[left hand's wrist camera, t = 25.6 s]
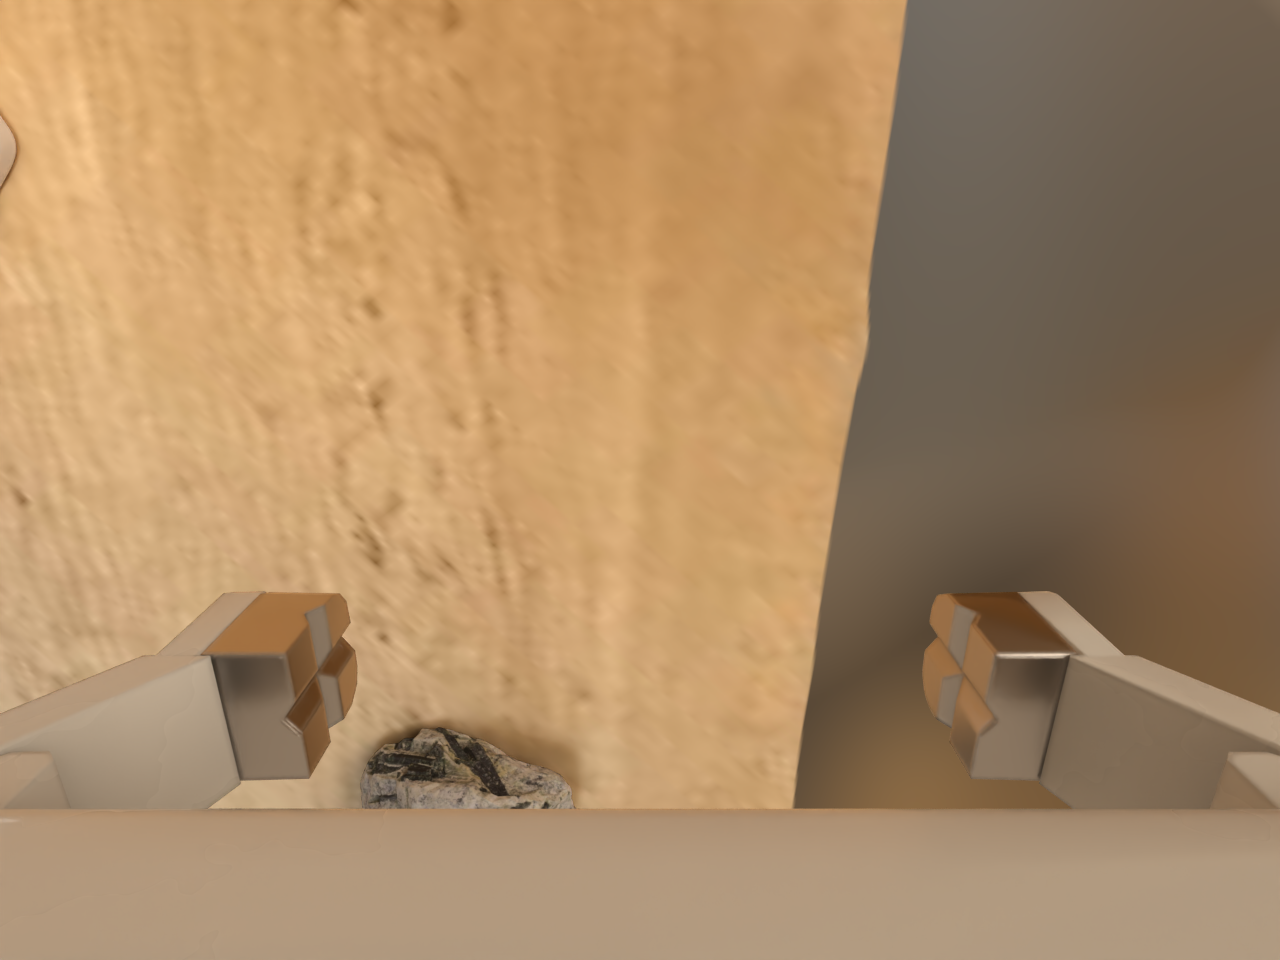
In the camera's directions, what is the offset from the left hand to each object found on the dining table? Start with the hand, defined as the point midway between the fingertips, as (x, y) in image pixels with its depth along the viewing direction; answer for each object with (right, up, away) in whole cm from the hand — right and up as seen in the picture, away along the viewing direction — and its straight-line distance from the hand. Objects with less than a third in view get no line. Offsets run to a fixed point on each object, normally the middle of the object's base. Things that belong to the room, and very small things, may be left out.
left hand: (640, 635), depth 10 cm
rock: (-12, -20, +42) cm, 48 cm away
